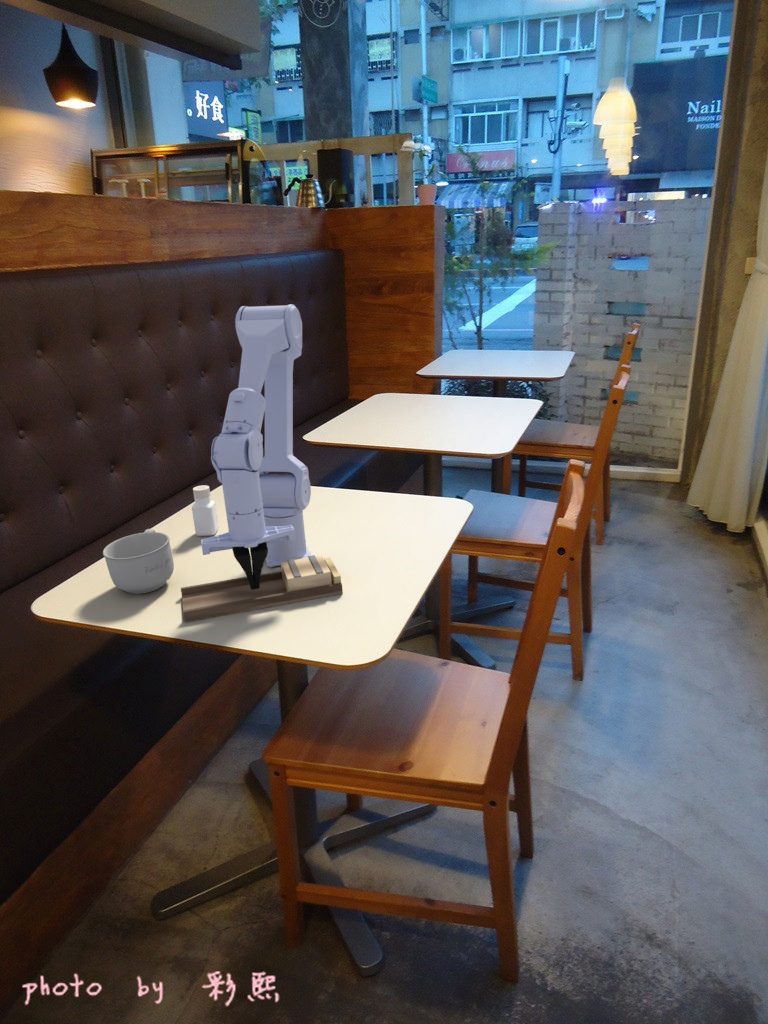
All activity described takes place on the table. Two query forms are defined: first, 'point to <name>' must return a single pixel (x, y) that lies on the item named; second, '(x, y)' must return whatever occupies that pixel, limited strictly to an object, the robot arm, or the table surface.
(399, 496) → the table surface
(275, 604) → the bay
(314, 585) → the banded tan block
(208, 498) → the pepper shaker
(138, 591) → the teacup
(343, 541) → the table surface
